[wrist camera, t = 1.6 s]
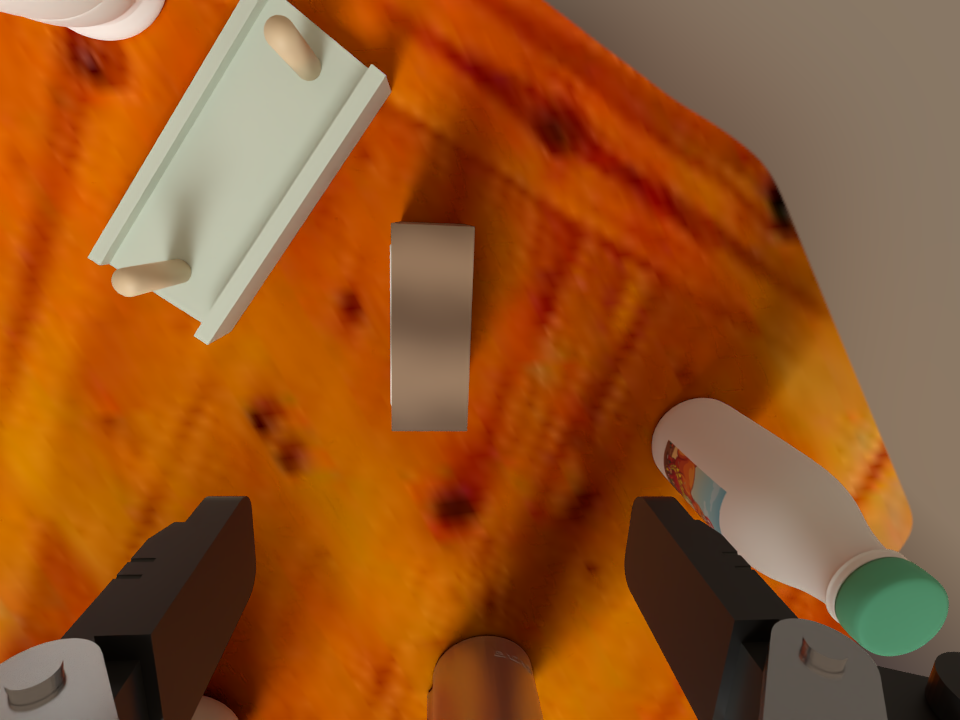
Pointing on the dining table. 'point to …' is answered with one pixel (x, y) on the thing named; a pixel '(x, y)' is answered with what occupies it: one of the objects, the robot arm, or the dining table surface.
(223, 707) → the grey bottle
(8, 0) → the jar
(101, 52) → the dining table surface
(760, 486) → the milk bottle
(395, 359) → the wooden block
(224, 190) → the ledge
